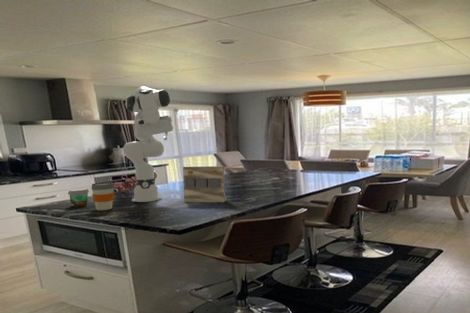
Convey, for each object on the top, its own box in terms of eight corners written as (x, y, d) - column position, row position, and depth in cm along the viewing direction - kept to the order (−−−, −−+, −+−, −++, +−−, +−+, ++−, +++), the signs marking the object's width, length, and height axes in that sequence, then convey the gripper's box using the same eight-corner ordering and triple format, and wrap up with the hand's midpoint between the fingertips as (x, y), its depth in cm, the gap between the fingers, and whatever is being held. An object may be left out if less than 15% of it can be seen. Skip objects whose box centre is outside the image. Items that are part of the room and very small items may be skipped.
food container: (71, 208, 219) (70, 191, 218) (68, 206, 224) (67, 190, 223) (92, 205, 227) (91, 189, 226) (89, 203, 232) (88, 188, 231)
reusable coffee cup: (114, 209, 210) (113, 184, 209) (91, 211, 206) (90, 185, 205) (115, 205, 222) (114, 181, 221) (94, 207, 219) (92, 183, 218)
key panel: (188, 199, 233) (186, 166, 232) (226, 200, 227) (225, 165, 225) (183, 201, 227) (182, 167, 225) (223, 202, 220) (222, 166, 219)
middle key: (200, 186, 227) (199, 178, 226) (209, 186, 225) (208, 178, 225) (197, 187, 222) (196, 179, 222) (206, 187, 220) (206, 179, 220)
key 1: (188, 186, 229) (187, 178, 229) (197, 186, 227) (196, 178, 227) (185, 187, 224) (184, 179, 224) (194, 187, 223) (193, 179, 222)
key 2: (212, 186, 225) (211, 178, 224) (221, 186, 223) (220, 178, 223) (209, 187, 220) (209, 179, 220) (218, 187, 218) (218, 179, 218)
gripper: (170, 113, 206) (175, 136, 211) (135, 120, 205) (141, 142, 210) (170, 116, 200) (175, 139, 205) (133, 122, 199) (139, 146, 204)
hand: (157, 141), depth 208 cm, fingers open, 8 cm apart
